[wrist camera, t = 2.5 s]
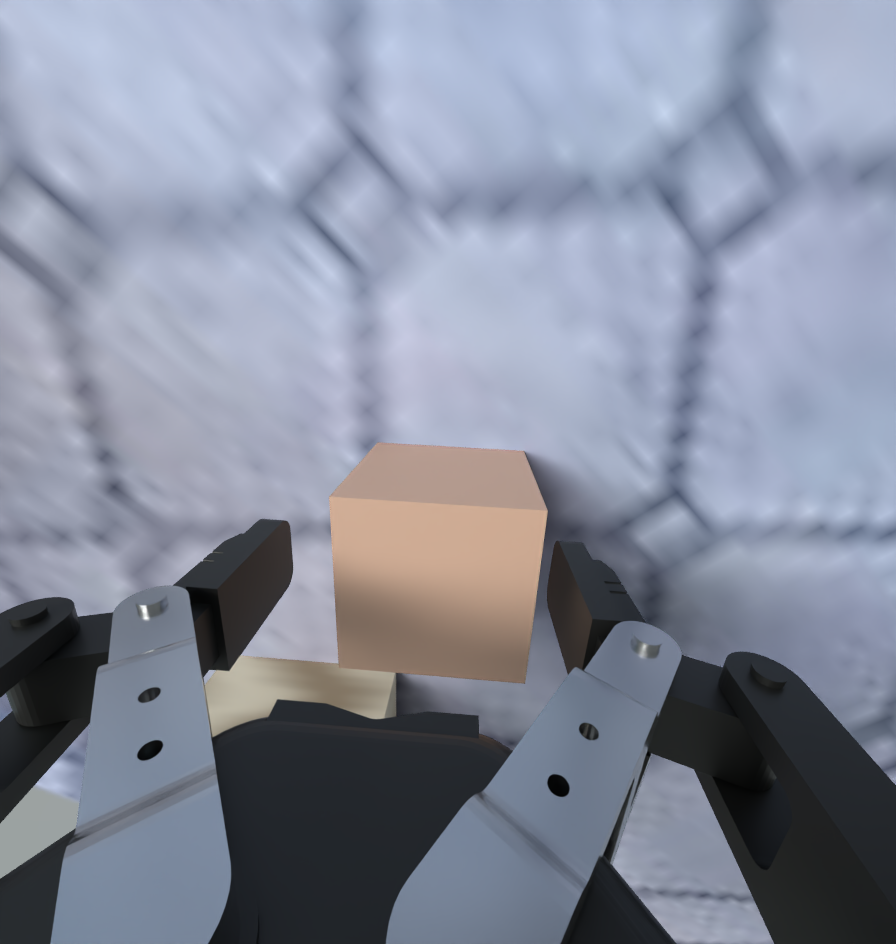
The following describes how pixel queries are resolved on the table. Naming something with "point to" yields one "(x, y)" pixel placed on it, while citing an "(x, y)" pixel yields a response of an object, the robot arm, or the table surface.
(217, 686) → the birch base block
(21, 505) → the table surface
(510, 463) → the terracotta block
